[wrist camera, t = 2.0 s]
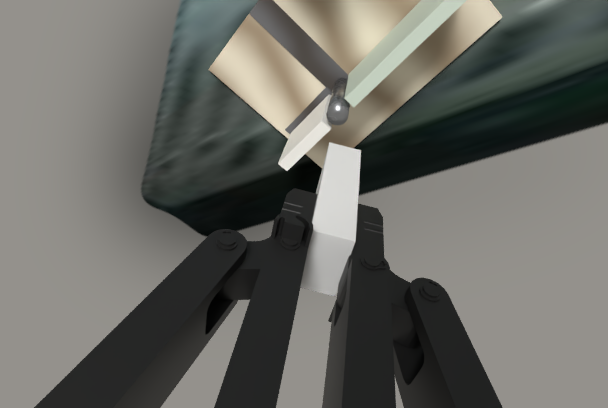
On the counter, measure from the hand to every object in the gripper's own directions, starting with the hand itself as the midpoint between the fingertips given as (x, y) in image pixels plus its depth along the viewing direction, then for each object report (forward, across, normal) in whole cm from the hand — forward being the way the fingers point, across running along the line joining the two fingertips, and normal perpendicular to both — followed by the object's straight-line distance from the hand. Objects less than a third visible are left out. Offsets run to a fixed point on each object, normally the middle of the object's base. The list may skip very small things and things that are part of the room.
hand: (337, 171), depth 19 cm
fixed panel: (+26, -3, -9) cm, 27 cm away
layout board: (+26, -1, 0) cm, 26 cm away
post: (+26, 0, -4) cm, 27 cm away
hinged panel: (+26, +4, +2) cm, 26 cm away
